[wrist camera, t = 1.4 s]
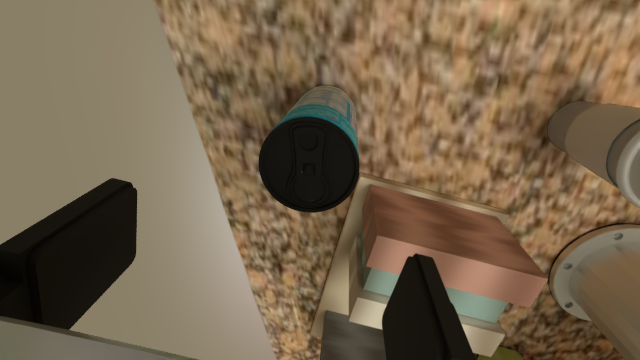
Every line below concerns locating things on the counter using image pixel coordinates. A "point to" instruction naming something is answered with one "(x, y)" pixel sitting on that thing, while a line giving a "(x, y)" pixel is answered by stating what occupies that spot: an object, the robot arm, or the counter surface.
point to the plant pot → (502, 355)
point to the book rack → (426, 239)
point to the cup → (602, 142)
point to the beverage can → (313, 152)
